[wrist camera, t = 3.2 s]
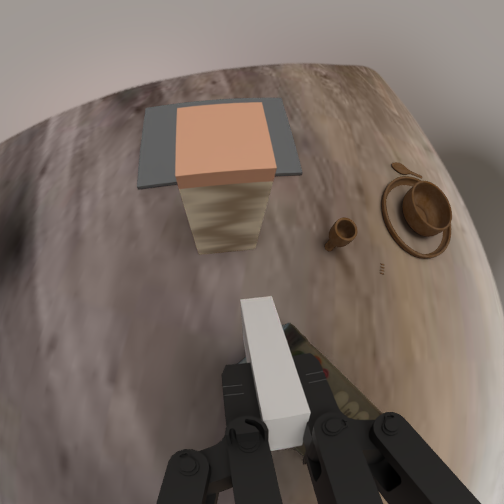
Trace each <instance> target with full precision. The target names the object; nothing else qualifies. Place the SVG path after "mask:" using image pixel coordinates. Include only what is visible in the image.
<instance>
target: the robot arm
mask: <svg viewBox="0 0 504 504" xmlns="http://www.w3.org/2000/svg"><path fill="white" fill-rule="evenodd" d="M240 301H241V315H242V329H243V342H244V348H245V353H246V359H247V363H242V364H232V365H226V366H225V369H224V371H223V373H222V385H223V395H224V406H225V416H226V426H227V427H226V431H225V436H224V438H223V439H222V441H220V442H219V443H218V444H216V445H214V446H212V447H210V448H207V449H204V450H201V451H195V450H193V449H184V450H181V451H178V452H176V453H175V454H174V455H173V456H172V457H171V459H170V460H169V462H168V466H167V469H166V472H165V476H164V479H163V483H162V486H161V490H160V493H159V496H158V500H157V503H156V504H217V500H218V495H219V492H221V491H224V490H226V489H229V488H232V487H233V491H234V499H235V504H282V500H281V495H280V491H279V487H278V482H277V478H276V473H275V469H274V464H273V460H272V455H271V451H274V450H280V449H286V448H291V447H296V446H301V445H302V443H303V442H304V445H305V449H306V452H305V455H304V458H303V464H306V463H307V466H308V470H309V473H310V477H311V480H312V484H313V487H314V491H315V494H316V498H317V501H318V504H383V502H382V499H381V497H380V494H381V495H382V496H383V497H384V499H385V500H386V501H387V503H388V504H481V503H480V502H479V501H478V500H477V499H476V498H475V496H474V495H473V494H472V493H471V492H470V491H469V490H468V489H467V488H466V486H465V485H464V484H463V483H462V482H461V481H460V480H459V479H458V477H457V476H456V475H455V474H454V473H453V472H452V471H451V470H450V469H449V467H448V466H447V465H446V464H445V463H444V462H443V461H442V460H441V459H440V457H439V456H438V455H437V454H436V453H435V452H434V451H433V450H432V449H431V447H430V446H429V445H428V444H427V443H426V442H425V441H424V440H423V439H422V437H421V436H420V435H419V434H418V433H417V432H416V431H415V430H414V429H413V427H412V426H411V425H410V424H409V423H408V422H407V421H406V420H405V419H404V418H403V417H402V416H401V415H399V414H397V413H394V412H386V413H383V414H381V415H380V416H378V417H377V418H376V420H357V419H352V418H349V417H347V416H346V415H344V414H343V413H342V412H341V411H340V409H339V407H338V405H337V403H336V400H335V398H334V395H333V393H332V391H331V388H330V386H329V383H328V381H327V380H326V376H325V374H324V372H323V369H322V367H321V364H320V362H319V360H318V359H317V358H316V357H314V356H313V355H312V354H311V353H307V354H301V355H295V356H292V355H291V352H290V349H289V346H288V343H287V340H286V337H285V334H284V331H283V328H282V325H281V322H280V319H279V316H278V313H277V311H276V308H275V305H274V302H273V299H272V296H269V297H260V298H250V299H241V300H240ZM378 491H379V492H380V494H379V492H378Z"/></svg>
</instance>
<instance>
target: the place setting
mask: <svg viewBox="0 0 504 504" xmlns="http://www.w3.org/2000/svg"><path fill="white" fill-rule="evenodd" d="M392 167H393V168H394V169H395V170H396V171H397V172H399V173H401V174H404V175H407V174H412V175H414V176H417V177H419V178H422V176H421V175H418V174H416V173H414V172H412V171H410V170H408V169H407V168H406V167H405V166H404V165H402V164H401V163H397V162H395V163H392ZM400 185H409V186H413V187H412V188H411V189H410V190H409V191H408V192H407V193H406V195H405V197H404V199H403V214H404V217H405V219H406V221H407V223H408V224H409V226H410V227H411V228H412V229H413V230H414V231H415V232H417V233H418V234H420V235H423V236H434V235H437V234H438V233H440V232H442V231H443V238H442V241H441V244H440V246H439V247H438V248H437V249H436V250H435V251H434V252H432V253H429V254H421V253H418V252H416V251H414V250H413V249H411V248H410V247H409V246H407V245H406V244H405V243H404V242H403V241H402V240H401V238H400V237H399V236H398V235H397V233H396V232H395V230H394V228H393V226H392V224H391V222H390V220H389V217H388V213H387V208H386V198H387V196H388V194H389V192H390V191H391V190H392V189H393V188H395V187H397V186H400ZM382 212H383V217H384V220H385V224H386V226H387V228H388V230H389V232H390V234H391V235H392V237H393V238H394V240H395V241H396V242H397V243H398V244H399V245H400V246H401V247H402V248H403V249H404V250H405V251H407V252H408V253H410V254H412V255H414V256H417V257H420V258H433V257H436V256H438V255H440V254H441V253H443V252H444V251H445V249H446V248H447V246H448V244H449V242H450V238H451V220H452V211H451V207H450V204H449V201H448V199H447V197H446V196H445V194H444V193H443V192H442V191H441V190H440V189H439V188H438V187H437V186H436V185H434V184H433V183H431V182H428V181H421V180H419V179H417V178H414V177H409V176H402V177H398V178H396V179H394V180H393V181H391V182H390V184H389V185H388V186H387V188H386V189H385V191H384V194H383V199H382ZM356 235H357V227H356V225H355V223H354V222H353V221H352V220H350V219H348V218H340V219H339V220H337V221H336V222H335V224H334V225H333V226H332V228H331V229H330V232H329V241H328V242H327V243H326V244H325V249H326V250H327V251H332V250H333V248H335V247H343V246H346V245H347V244H349V243H350V242H351V241H352V240H353V239H354V238H355V237H356ZM381 265H384V264H381ZM381 268H384V267H381ZM381 271H384V270H381ZM381 274H384V273H381Z"/></svg>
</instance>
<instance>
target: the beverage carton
mask: <svg viewBox="0 0 504 504" xmlns="http://www.w3.org/2000/svg"><path fill="white" fill-rule="evenodd" d="M282 328H283V331H284V334H285V337H286V340H287V343H288V346H289V349H290V352H291V355H292V356H295V355H301V354H307V353H311V354H312V355H313V356H314V357H316V358H317V359H318V360H319V362H320V364H321V367H322V369H323V372H324V374H325V376H326V380H327V381H328V383H329V386H330V388H331V391H332V393H333V395H334V398H335V400H336V403H337V405H338V407H339V409H340V411H341V412H342V413H343V414H344V415H346V416H347V417H349V418H352V419H357V420H376V418H377V417H378V416H380V415H381V414H383V413H382V412H380V411H379V410H378V409H377V408H376V407H375V406H374V405H373V404H372V403H371V402H370V401H369V400H368V399H367V398H366V397H365V396H364V395H363V394H362V393H361V392H360V391H359V390H358V389H357V388H356V387H355V386H354V385H353V384H352V383H351V382H350V381H349V380H348V379H347V378H346V377H345V376H344V375H343V374H342V373H341V372H340V371H339V370H338V369H337V368H336V367H335V366H333V365H332V364H331V363H330V362H329V361H328V360H327V359H326V358H325V357H324V356H323V355H322V354H321V353H320V352H319V351H318V350H317V349H316V348H315V347H313V346H312V345H311V344H310V343H309V342H308V340H307V339H306V337H305V336H303V335H302V334H301V333H300V332H299V331H298V329H297V328H296V327H295V326H294V325H292V324H291V323H287V324H285V325H282ZM242 363H247V359H246V357H245V358H244V359H243V360H242V361H241V362H239V363H238V364H242ZM293 448H295V449H296V450H297V451H298V452H299V453H300V454H302V455H303V456H304V455H305V452H306V449H305V445H304V442H303V443H302V445H301V446H296V447H293Z"/></svg>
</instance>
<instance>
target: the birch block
mask: <svg viewBox="0 0 504 504" xmlns="http://www.w3.org/2000/svg"><path fill="white" fill-rule="evenodd" d="M276 169H277V167H276V162H275V158H274V153H273V148H272V144H271V139H270V135H269V131H268V126H267V122H266V118H265V113H264V109H263V105H262V102H250V103H228V104H213V105H201V106H191V107H182V108H177V125H176V163H175V177H176V180H177V184H178V187H179V191H180V194H181V198H182V201H183V205H184V208H185V211H186V215H187V218H188V221H189V225H190V228H191V231H192V234H193V238H194V241H195V244H196V247H197V250H198V253H199V255H202V254H212V253H222V252H232V251H242V250H252V249H255V248H256V244H257V240H258V236H259V233H260V229H261V225H262V221H263V218H264V214H265V210H266V207H267V203H268V199H269V195H270V192H271V188H272V184H273V180H274V177H275V173H276Z"/></svg>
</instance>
